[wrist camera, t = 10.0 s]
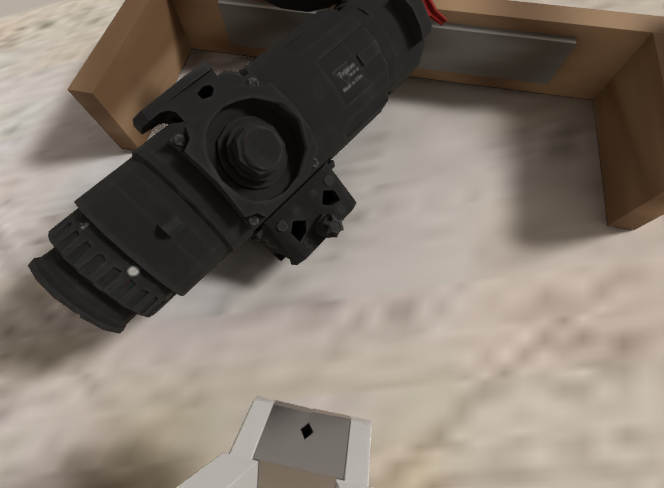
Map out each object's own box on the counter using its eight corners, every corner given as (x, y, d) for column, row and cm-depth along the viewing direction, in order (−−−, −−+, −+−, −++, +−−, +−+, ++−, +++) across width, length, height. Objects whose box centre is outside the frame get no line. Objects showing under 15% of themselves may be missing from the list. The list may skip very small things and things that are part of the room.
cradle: (120, 147, 19) (67, 89, 15) (181, 33, 22) (149, -37, 19) (634, 229, 16) (719, 184, 13) (613, 86, 20) (676, 17, 16)
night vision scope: (172, 337, 17) (-23, 182, 14) (386, 125, 23) (289, -30, 19) (192, 418, 10) (-196, 148, 7) (494, 86, 16) (375, -171, 12)
